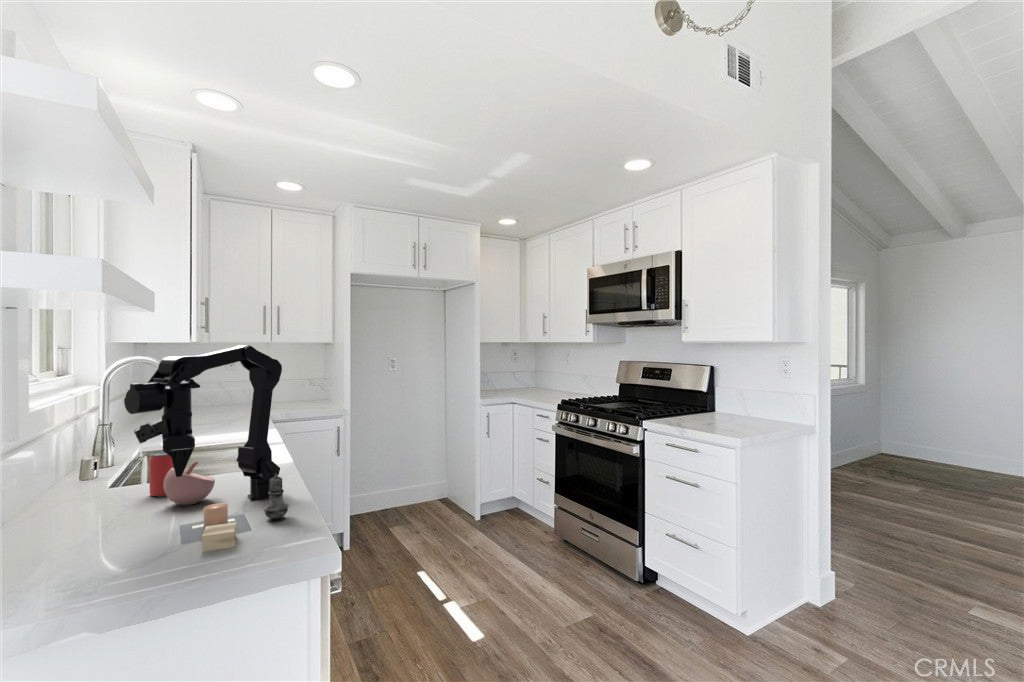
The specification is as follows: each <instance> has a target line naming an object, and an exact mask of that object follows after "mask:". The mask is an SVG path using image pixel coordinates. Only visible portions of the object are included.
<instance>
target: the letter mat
mask: <svg viewBox="0 0 1024 682" xmlns="http://www.w3.org/2000/svg"><path fill="white" fill-rule="evenodd" d="M235 522H236V535H238V534H243V533H246V532H251V531H253V529H252V527H251V525H250V523H249V520H248V518H247V516H246V514H245V513H241V514H240V513H239V514H235V515H229V516H228V523H235ZM203 532H204V520H202V521H196V522H190V523H185V524H181V525H180V524H179V536H180V545H182V546H183V545H187V544H192V543H197V542H202V535H203Z"/></svg>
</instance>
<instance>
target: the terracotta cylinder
mask: <svg viewBox="0 0 1024 682" xmlns="http://www.w3.org/2000/svg"><path fill="white" fill-rule="evenodd" d="M228 507H229V506H228V504H227V503H222V502H220V503H213V504H208V505H206V506H204V507H203V508H202V509H203V510H202V511H203V515H202V516H203V521H204V530H205V527H206V526H213V525H220V524H228V513H229V510H228V509H229V508H228Z"/></svg>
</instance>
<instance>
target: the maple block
mask: <svg viewBox="0 0 1024 682" xmlns="http://www.w3.org/2000/svg"><path fill="white" fill-rule="evenodd" d="M236 541H237V534H236V522H235V523H228V524H220V525H213V526H206V527H205V530H204V532H203V535H202V541H201V552H202V553H203V552H204V553H205V552H211V551H216V550H222V549H223V550H225V549H230V548H231V549H232V548H235V547H236V546H235V545H236Z"/></svg>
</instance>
